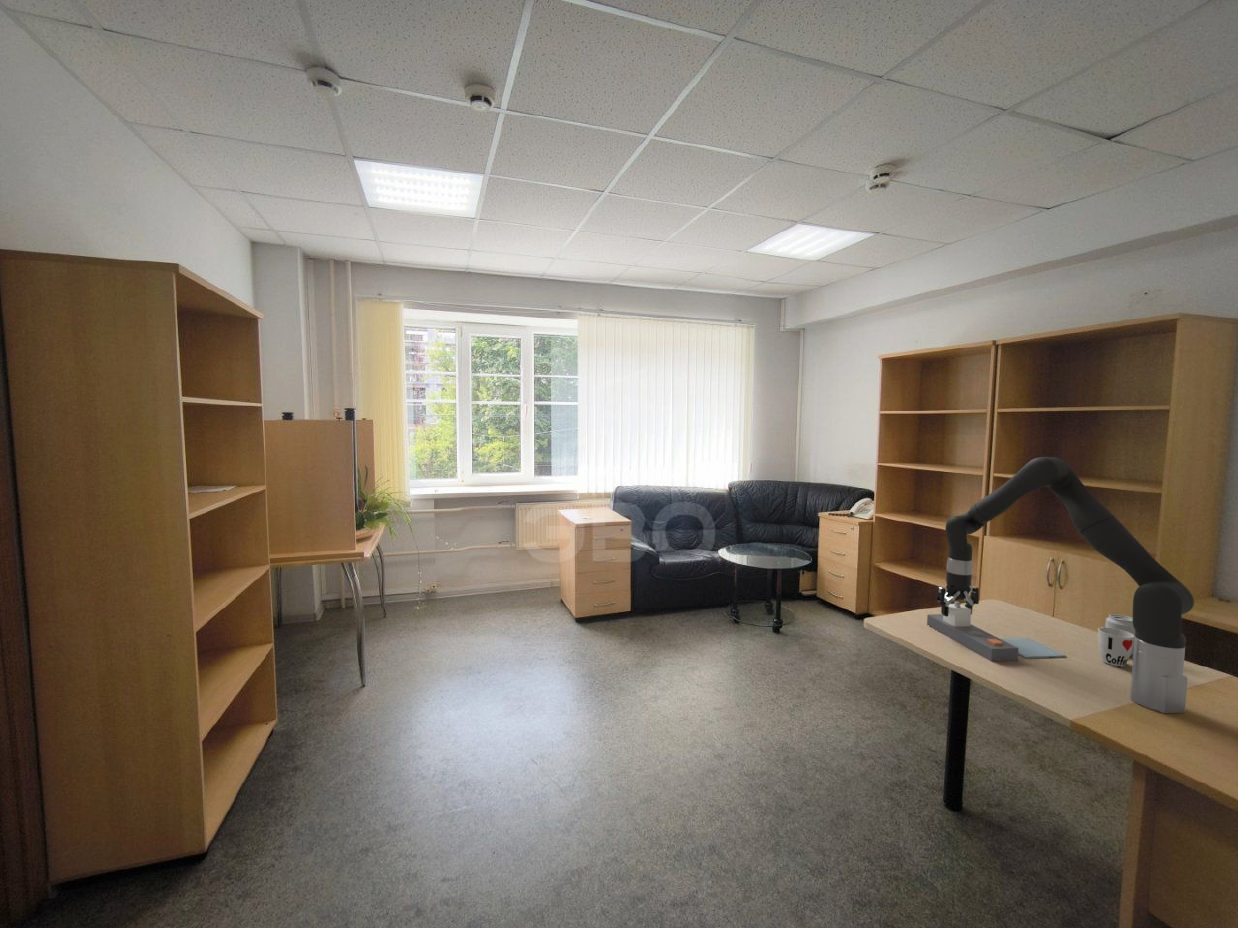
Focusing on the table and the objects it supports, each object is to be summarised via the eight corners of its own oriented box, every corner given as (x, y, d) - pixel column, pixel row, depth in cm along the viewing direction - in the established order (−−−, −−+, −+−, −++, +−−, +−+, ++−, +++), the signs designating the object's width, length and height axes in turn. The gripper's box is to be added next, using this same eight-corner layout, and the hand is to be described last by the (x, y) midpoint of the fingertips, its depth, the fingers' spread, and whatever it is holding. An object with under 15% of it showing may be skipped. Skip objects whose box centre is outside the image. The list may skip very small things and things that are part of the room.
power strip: (1017, 660, 162) (1018, 645, 162) (991, 661, 162) (991, 646, 161) (949, 624, 192) (950, 611, 192) (927, 624, 192) (927, 612, 191)
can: (1121, 648, 172) (1124, 613, 171) (1142, 658, 164) (1145, 621, 164) (1097, 647, 173) (1100, 612, 172) (1116, 656, 165) (1119, 620, 164)
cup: (1101, 665, 159) (1103, 634, 158) (1092, 655, 166) (1094, 625, 165) (1136, 671, 155) (1138, 639, 155) (1125, 660, 162) (1127, 630, 162)
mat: (1065, 657, 165) (1066, 655, 165) (1025, 658, 164) (1025, 656, 164) (1028, 639, 179) (1028, 637, 179) (990, 640, 178) (990, 638, 178)
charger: (970, 631, 180) (971, 605, 180) (954, 631, 180) (955, 605, 179) (957, 625, 186) (959, 599, 185) (942, 625, 186) (944, 599, 185)
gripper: (947, 574, 177) (945, 620, 178) (986, 573, 178) (983, 619, 180) (932, 568, 185) (930, 612, 186) (970, 567, 186) (967, 611, 187)
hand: (956, 615), depth 183 cm, fingers open, 8 cm apart
